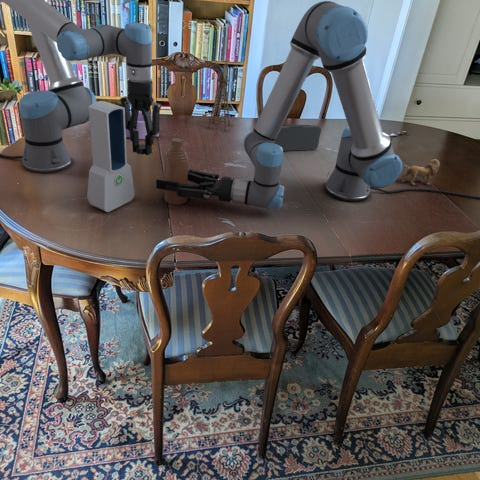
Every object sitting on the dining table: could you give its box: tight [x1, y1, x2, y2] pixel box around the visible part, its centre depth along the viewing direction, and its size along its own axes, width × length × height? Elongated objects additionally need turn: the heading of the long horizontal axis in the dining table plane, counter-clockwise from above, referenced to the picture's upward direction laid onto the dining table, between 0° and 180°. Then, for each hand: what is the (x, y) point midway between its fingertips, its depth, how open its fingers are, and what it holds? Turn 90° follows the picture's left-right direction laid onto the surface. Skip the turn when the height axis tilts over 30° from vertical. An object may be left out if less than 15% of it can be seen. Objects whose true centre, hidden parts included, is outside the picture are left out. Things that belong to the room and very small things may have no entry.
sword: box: [387, 132, 406, 138], centre depth 214 cm, size 31×3×1 cm, turn 126°
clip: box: [126, 111, 160, 140], centre depth 188 cm, size 20×12×7 cm, turn 109°
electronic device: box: [86, 100, 135, 213], centre depth 133 cm, size 12×8×30 cm, turn 148°
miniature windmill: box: [207, 57, 231, 131], centre depth 198 cm, size 9×8×30 cm
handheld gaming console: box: [274, 124, 322, 152], centre depth 189 cm, size 23×3×10 cm, turn 108°
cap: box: [135, 143, 146, 155], centre depth 153 cm, size 4×4×2 cm
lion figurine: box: [400, 158, 441, 186], centre depth 172 cm, size 15×5×9 cm, turn 110°
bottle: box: [163, 137, 190, 205], centre depth 142 cm, size 7×7×20 cm
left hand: (142, 152), depth 153 cm, fingers closed on cap, 4 cm apart
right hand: (160, 178), depth 144 cm, fingers closed on bottle, 7 cm apart
